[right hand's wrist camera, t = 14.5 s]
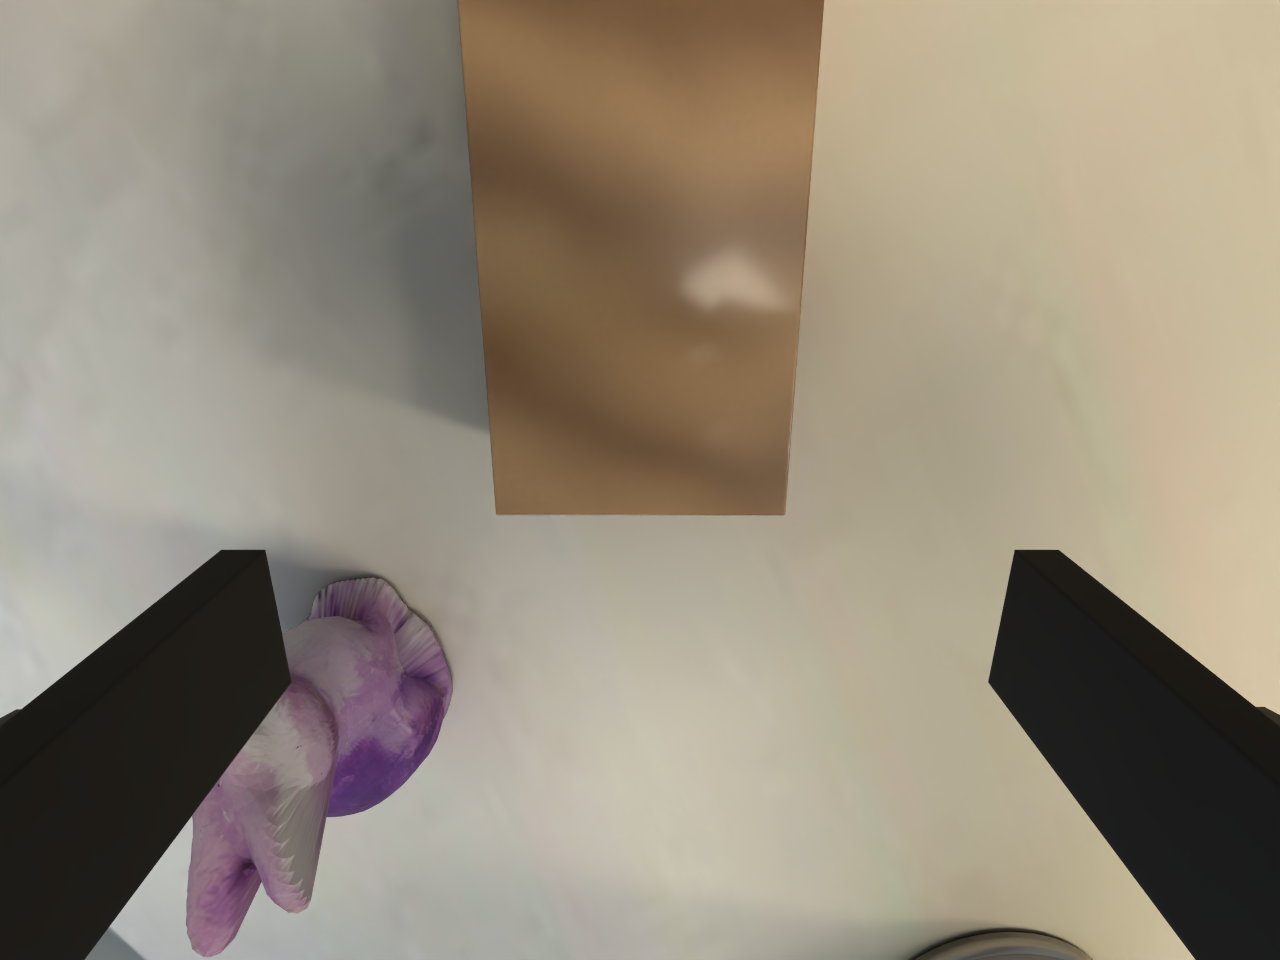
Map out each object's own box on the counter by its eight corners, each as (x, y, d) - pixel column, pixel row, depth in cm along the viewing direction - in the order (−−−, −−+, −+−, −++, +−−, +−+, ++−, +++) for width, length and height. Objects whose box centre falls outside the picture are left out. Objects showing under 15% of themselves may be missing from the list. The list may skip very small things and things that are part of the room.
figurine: (322, 533, 35) (104, 749, 21) (498, 643, 37) (410, 907, 23) (234, 664, 37) (-12, 936, 23) (403, 760, 39) (272, 1062, 25)
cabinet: (497, -106, 26) (438, -239, 18) (783, -106, 26) (842, -239, 18) (528, 447, 33) (495, 515, 26) (752, 447, 33) (785, 515, 26)
